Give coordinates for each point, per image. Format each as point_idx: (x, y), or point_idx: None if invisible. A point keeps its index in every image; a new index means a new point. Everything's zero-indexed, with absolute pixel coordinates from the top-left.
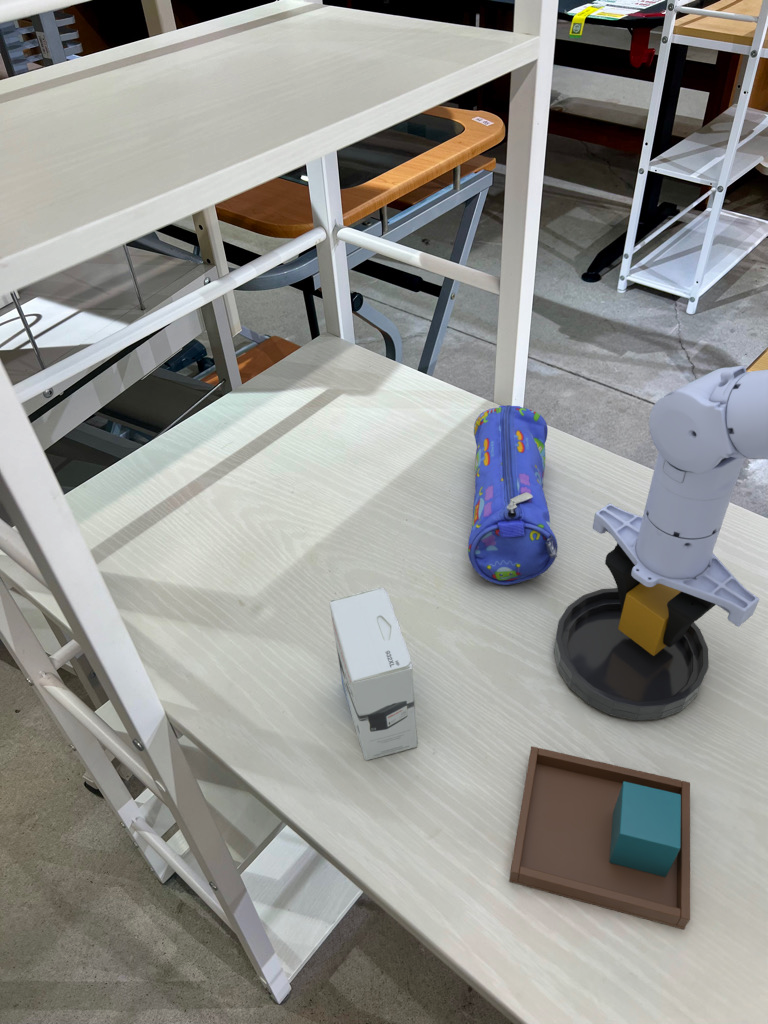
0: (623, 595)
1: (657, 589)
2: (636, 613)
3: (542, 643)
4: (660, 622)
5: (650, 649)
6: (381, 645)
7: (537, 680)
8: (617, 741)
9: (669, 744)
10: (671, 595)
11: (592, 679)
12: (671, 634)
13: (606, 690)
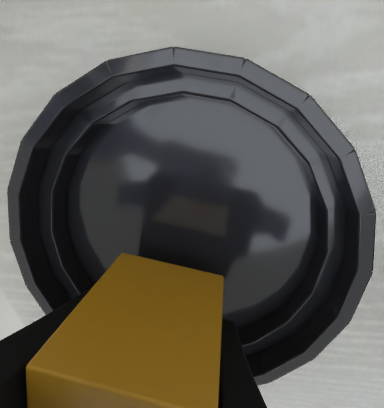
0: (236, 390)
1: None
2: (165, 341)
3: (365, 155)
4: (52, 349)
5: (127, 261)
6: None
7: (325, 45)
8: (93, 32)
9: (25, 103)
10: None
11: (212, 134)
12: (46, 321)
13: (173, 128)
